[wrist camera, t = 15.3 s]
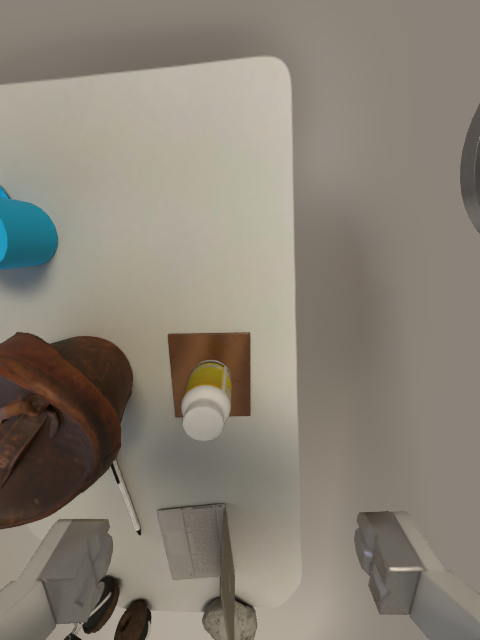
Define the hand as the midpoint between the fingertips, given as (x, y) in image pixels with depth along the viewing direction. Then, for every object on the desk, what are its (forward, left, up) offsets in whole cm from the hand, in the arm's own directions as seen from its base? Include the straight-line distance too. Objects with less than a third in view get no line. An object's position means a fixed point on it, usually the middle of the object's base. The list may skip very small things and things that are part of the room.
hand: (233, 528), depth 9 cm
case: (+22, +10, -31) cm, 39 cm away
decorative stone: (+2, +66, -31) cm, 73 cm away
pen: (+20, +34, -31) cm, 50 cm away
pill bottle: (+4, +11, -31) cm, 33 cm away
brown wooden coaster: (+4, +11, -31) cm, 33 cm away
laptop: (+8, +46, -31) cm, 56 cm away
